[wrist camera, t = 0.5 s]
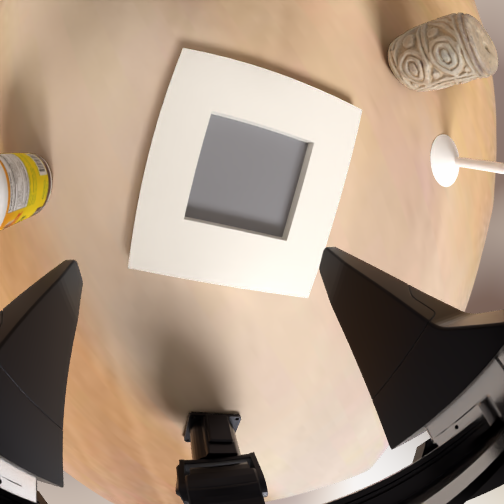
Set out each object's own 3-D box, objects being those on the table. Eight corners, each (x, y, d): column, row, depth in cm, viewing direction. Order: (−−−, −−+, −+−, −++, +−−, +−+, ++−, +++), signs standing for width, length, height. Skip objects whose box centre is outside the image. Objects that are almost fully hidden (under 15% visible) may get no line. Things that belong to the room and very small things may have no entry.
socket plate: (302, 291, 27) (308, 297, 25) (131, 261, 22) (127, 268, 21) (353, 112, 22) (362, 110, 21) (183, 54, 18) (183, 47, 16)
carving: (418, 49, 21) (494, 30, 10) (421, 102, 23) (507, 96, 12) (378, 28, 20) (456, -6, 9) (381, 84, 22) (473, 63, 11)
